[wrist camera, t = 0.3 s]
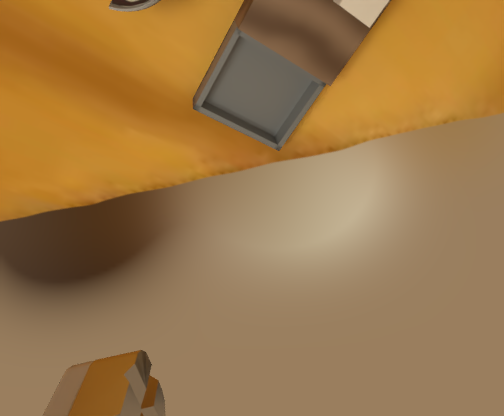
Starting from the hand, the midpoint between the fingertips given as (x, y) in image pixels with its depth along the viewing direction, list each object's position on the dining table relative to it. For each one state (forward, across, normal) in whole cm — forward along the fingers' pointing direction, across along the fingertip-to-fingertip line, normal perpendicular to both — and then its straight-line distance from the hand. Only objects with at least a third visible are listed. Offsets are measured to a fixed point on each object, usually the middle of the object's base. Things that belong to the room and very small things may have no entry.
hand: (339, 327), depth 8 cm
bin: (+53, -4, -2) cm, 53 cm away
